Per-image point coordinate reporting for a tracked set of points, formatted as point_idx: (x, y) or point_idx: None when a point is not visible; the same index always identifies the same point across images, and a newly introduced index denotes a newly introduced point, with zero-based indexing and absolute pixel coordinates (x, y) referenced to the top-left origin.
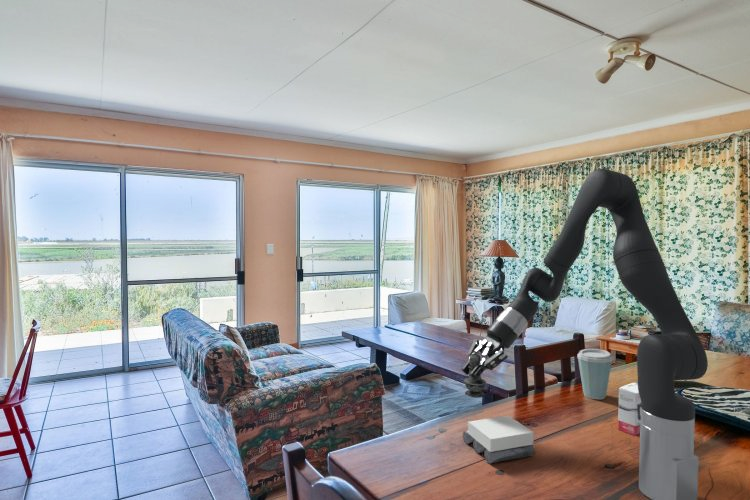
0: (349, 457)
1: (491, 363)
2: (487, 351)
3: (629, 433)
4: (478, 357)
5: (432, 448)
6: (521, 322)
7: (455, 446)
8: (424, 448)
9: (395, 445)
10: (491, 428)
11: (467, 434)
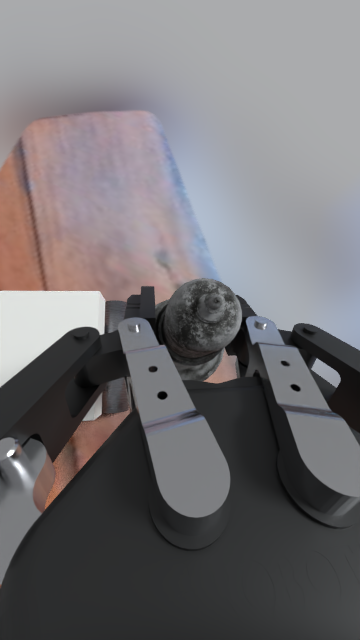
0: (137, 124)
1: (130, 410)
2: (131, 383)
3: None
4: (169, 319)
5: (121, 242)
6: None
7: (114, 283)
8: (126, 230)
9: (152, 193)
10: (39, 325)
11: (108, 301)
